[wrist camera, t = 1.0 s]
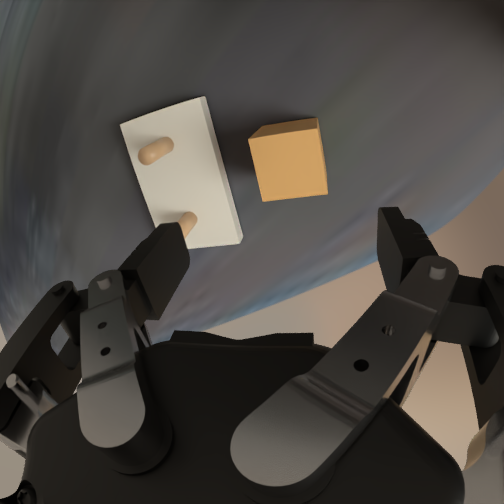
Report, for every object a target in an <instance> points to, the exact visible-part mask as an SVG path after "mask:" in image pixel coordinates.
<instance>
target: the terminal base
mask: <svg viewBox="0 0 504 504" xmlns="http://www.w3.org/2000/svg"><path fill="white" fill-rule="evenodd" d="M120 127H121V130H122V133H123V137H124V140H125V143H126V146H127V149H128V152H129V155H130V158H131V161H132V164H133V167H134V170H135V173H136V175H137V178H138V181H139V184H140V187H141V189H142V192H143V195H144V198H145V200H146V203H147V206H148V208H149V211H150V214H151V216H152V219H153V222H154V224H155V227H156V228H157V226H158V225H159V224H161V223H170V222H178V223H179V224H180V226H181V229H182V232H183V235H184V239H185V242H186V245H187V249H192V248H202V247H212V246H222V245H232V244H240V242H241V240H242V238H243V234H242V230H241V227H240V223H239V219H238V216H237V212H236V208H235V205H234V201H233V197H232V194H231V190H230V186H229V183H228V179H227V175H226V172H225V168H224V164H223V160H222V157H221V153H220V149H219V146H218V142H217V138H216V135H215V131H214V127H213V123H212V120H211V116H210V112H209V108H208V105H207V101H206V97H205V96H203V97H199V98H195V99H192V100H189V101H185V102H182V103H179V104H176V105H173V106H170V107H167V108H164V109H161V110H158V111H155V112H152V113H149V114H146V115H144V116H141V117H138V118H136V119H133V120H130V121H128V122H125V123H123V124H120Z"/></svg>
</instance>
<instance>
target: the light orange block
mask: <svg viewBox="0 0 504 504" xmlns="http://www.w3.org/2000/svg"><path fill="white" fill-rule="evenodd" d="M248 141H249V145H250V149H251V154H252V158H253V162H254V166H255V170H256V175H257V179H258V183H259V187H260V192H261V196H262V200H263V202H265V201H273V200H281V199H289V198H297V197H306V196H315V195H325V194H328V189H327V174H326V166H325V159H324V153H323V147H322V141H321V135H320V129H319V124H318V118H310V119H303V120H296V121H289V122H283V123H277V124H271V125H265V126H262V127H261V128H260V129H258V130H257V131H256V132H255V133H254V134H253V135H252V136H251V137H250V138H249V139H248Z"/></svg>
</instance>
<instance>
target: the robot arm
mask: <svg viewBox="0 0 504 504" xmlns="http://www.w3.org/2000/svg"><path fill="white" fill-rule="evenodd" d="M377 255H378V261H379V264H380V268H381V271H382V275H383V278H384V281H385V285H386V289H387V290H385V291H383V292H382V293H381V294H380V296H378V298H377V299H376V300H375V301H374V302H373V303H372V305H371V306H370V307H369V308H368V309H367V310H366V312H365V313H364V314H363V315H362V316H361V317H360V318H359V319H358V321H357V322H356V323H355V324H354V325H353V326H352V327H351V328H350V329H349V331H348V332H347V333H346V334H345V335H344V336H343V337H342V338H341V339H340V340H339V341H338V342H337V344H335V346H334V347H333V348H332V349H331V348H329V347H325V346H322V345H317V344H314V335H313V333H275V334H271V335H265V336H259V337H254V338H248V339H243V340H235V339H230V338H226V337H222V336H218V335H215V334H211V333H207V332H195V331H177V330H174V332H173V334H172V336H171V339H170V340H168V341H164V342H160V343H156V344H152V341H151V338H150V335H149V332H148V329H147V327H146V325H145V323H144V322H145V320H159V319H160V317H161V316H162V314H163V312H164V310H165V308H166V307H167V305H168V303H169V301H170V299H171V298H172V296H173V294H174V292H175V291H176V289H177V287H178V285H179V284H180V282H181V280H182V278H183V277H184V275H185V273H186V272H187V270H188V268H189V264H190V256H189V252H188V249H187V245H186V242H185V239H184V235H183V232H182V229H181V226H180V224H179V223H178V222H170V223H161V224H159V225H158V226H157V228H156V229H155V230H154V231H153V232H152V233H151V234H150V235H149V237H148V238H146V239H145V240H143V241H142V242H141V243H140V244H139V245H138V246H137V247H136V250H134V251H133V252H132V253H131V255H130V256H129V257H128V258H127V259H126V260H125V261H124V263H123V264H122V265H121V266H120V267H119V268H118V270H108V271H105V272H103V273H101V274H99V275H97V276H96V277H95V278H93V279H92V280H91V282H90V283H89V285H88V289H84V290H80V291H77V290H76V288H75V286H74V284H73V282H72V281H63V282H61V283H58V284H56V285H55V286H53V287H52V288H51V289H50V290H49V291H48V292H47V293H46V294H45V296H44V297H43V298H42V299H41V300H40V302H39V303H38V304H37V305H36V306H35V308H34V309H33V310H32V311H31V313H30V314H29V315H28V316H27V318H26V319H25V320H24V321H23V323H22V324H21V325H20V327H19V328H18V329H17V331H16V332H15V333H14V334H13V336H12V337H11V338H10V340H9V341H8V343H7V344H6V345H5V347H4V348H3V349H2V351H1V353H0V441H1V442H3V443H4V444H5V445H6V446H8V447H9V448H10V449H12V450H14V451H16V452H17V453H18V454H20V455H21V456H22V457H24V458H25V459H26V460H25V467H24V472H23V476H22V481H21V483H20V485H19V487H18V489H17V491H16V492H15V493H14V494H12V495H11V496H8V497H6V498H2V499H0V504H504V266H499V265H491V266H488V267H486V268H485V269H484V271H483V275H482V278H475V277H468V276H463V275H459V270H458V268H457V266H456V265H455V264H454V263H453V262H452V261H450V260H448V259H447V258H444V257H441V256H439V255H438V253H437V252H436V250H435V248H434V247H433V245H432V243H431V242H430V240H429V238H428V237H427V235H426V234H425V232H424V230H423V228H422V227H421V225H420V224H418V223H417V222H415V221H414V220H412V219H405V218H404V216H403V215H402V213H401V211H400V210H399V208H398V207H380V208H379V209H378V230H377ZM59 324H61V326H62V327H63V329H64V330H65V332H66V333H67V335H68V336H69V339H68V341H67V342H66V344H65V345H64V347H63V348H62V350H61V351H60V353H59V355H58V356H57V354H56V353H55V352H54V350H53V349H52V347H51V343H50V340H51V336H52V334H53V333H54V332H55V330H56V329H57V327H58V326H59ZM439 341H442V342H448V343H455V344H461V348H462V352H463V355H464V359H465V363H466V367H467V371H468V375H469V379H470V383H471V387H472V393H473V397H474V402H475V407H476V413H477V419H478V425H479V432H478V433H477V434H476V435H475V436H474V437H473V439H472V440H471V442H470V444H469V447H468V451H467V462H466V465H465V468H464V470H463V471H461V469H460V467H459V465H458V464H457V462H456V461H455V459H454V458H453V457H452V456H451V455H450V454H449V453H448V452H447V451H446V450H445V449H444V448H443V447H442V446H441V445H440V444H439V443H437V442H436V441H435V440H434V439H433V438H432V437H431V436H430V435H429V434H428V433H427V432H426V431H425V430H424V429H423V428H422V427H421V426H420V425H419V424H418V423H416V422H415V421H414V420H413V419H412V418H411V417H410V416H409V415H408V414H407V413H406V412H405V411H404V410H403V409H402V406H403V404H404V403H405V401H406V399H407V398H408V396H409V394H410V392H411V390H412V388H413V386H414V384H415V383H416V381H417V379H418V378H419V376H420V374H421V372H422V371H423V369H424V367H425V365H426V364H427V362H428V360H429V359H430V357H431V355H432V353H433V351H434V349H435V347H436V346H437V344H438V342H439ZM81 378H82V383H80V384H79V385H78V383H79V382H80V380H81ZM77 385H78V386H77ZM76 387H77V392H76V393H75V394H73V393H74V391H75V389H76Z"/></svg>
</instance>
